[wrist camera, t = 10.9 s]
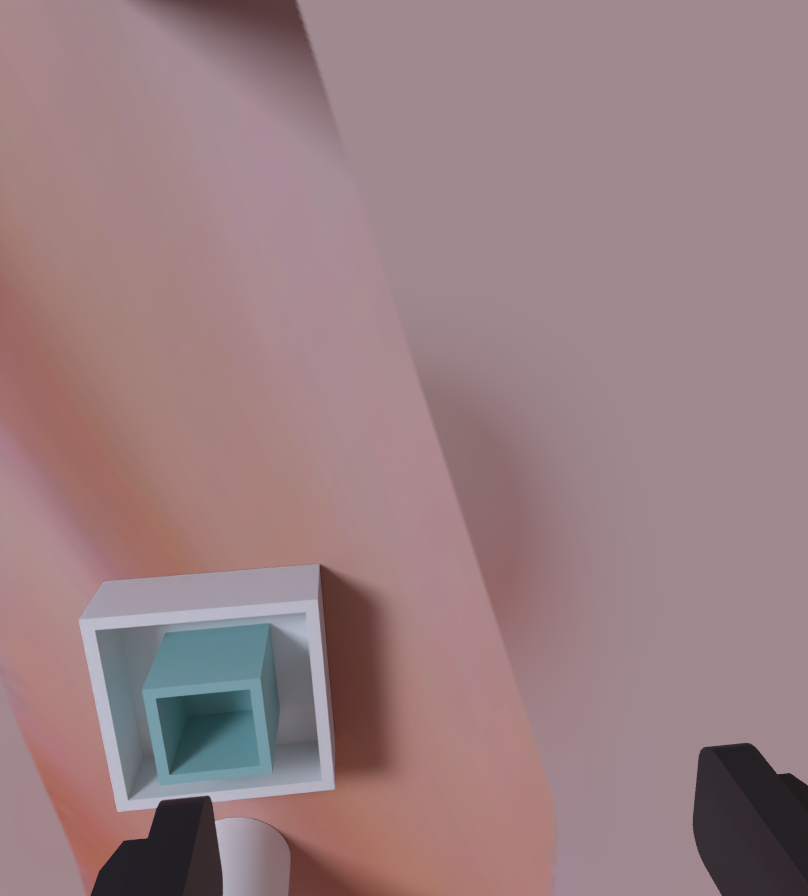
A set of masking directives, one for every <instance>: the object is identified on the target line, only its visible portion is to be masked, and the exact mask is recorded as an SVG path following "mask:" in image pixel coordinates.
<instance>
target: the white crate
mask: <svg viewBox="0 0 808 896" xmlns="http://www.w3.org/2000/svg"><path fill="white" fill-rule="evenodd" d="M79 623H80V628H81V633H82V638H83V643H84V648H85V653H86V658H87V663H88V668H89V673H90V678H91V683H92V688H93V693H94V698H95V703H96V708H97V713H98V718H99V723H100V728H101V733H102V738H103V743H104V748H105V753H106V758H107V763H108V768H109V773H110V778H111V783H112V788H113V793H114V798H115V803H116V808H117V812H121V811H131V810H141V809H150V808H157V807H158V804H159V803H160V801H162V800H168V799H178V798H188V797H198V796H210V798H211V801H212V802H218V801H228V800H237V799H247V798H257V797H266V796H276V795H286V794H295V793H305V792H314V791H324V790H334V789H335V734H334V722H333V711H332V700H331V689H330V677H329V666H328V655H327V644H326V632H325V621H324V610H323V599H322V587H321V576H320V565H319V564H311V565H298V566H286V567H274V568H262V569H249V570H237V571H225V572H212V573H200V574H188V575H176V576H163V577H151V578H139V579H127V580H114V581H104V582H103V583H102V585H101V586H100V588H99V589H98V591H97V593H96V594H95V596H94V597H93V599H92V600H91V602H90V603H89V605H88V606H87V608H86V609H85V611H84V612H83V614H82V615H81V617H80V619H79ZM264 623H270V631H271V639H272V647H273V655H274V664H275V672H276V680H277V688H278V697H279V705H280V714H279V723H278V731H277V740H276V749H275V757H274V766H273V774H265V775H255V776H246V777H237V778H227V779H218V780H208V781H199V782H190V783H180V784H171V785H162V786H160V785H159V779H158V774H157V769H156V763H155V758H154V752H153V747H152V742H151V736H150V731H149V725H148V720H147V715H146V709H145V704H144V698H143V693H142V688H143V686H144V683H145V681H146V679H147V676H148V674H149V671H150V669H151V667H152V664H153V662H154V660H155V657H156V655H157V652H158V650H159V648H160V645H161V643H162V640H163V638H164V636H165V633H166V632H177V631H188V630H199V629H209V628H220V627H231V626H242V625H253V624H264Z"/></svg>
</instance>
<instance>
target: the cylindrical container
mask: <svg viewBox="0 0 808 896" xmlns="http://www.w3.org/2000/svg"><path fill="white" fill-rule="evenodd" d="M215 826H216V832H217V839H218V846H219V852H220V859H221V865H222V875H223V896H288V893H289V879H290V865H291V856H290V850H289V847H288V844H287V843H286V841H285V839H284V838H283V836H282V835H281V834H280V833H279V832H278V831H277V830H275V829H274V828H273V827H271V826H270V825H268V824H265V823H263V822H261V821H258V820H254V819H251V818H241V817H236V818H226V819H221V820H217V821H215Z"/></svg>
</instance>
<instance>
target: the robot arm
mask: <svg viewBox="0 0 808 896" xmlns="http://www.w3.org/2000/svg"><path fill="white" fill-rule="evenodd" d="M693 831H694V836H695V841H696V845H697V849H698V852H699V854H700V857H701V859H702V861H703V863H704V865H705V867H706V869H707V870H708V872H709V874H710V876H711V877H712V879H713V881H714V882H715V884H716V886H717V888H718V890H719V891H720V893H721V895H722V896H808V785H806V784H805V783H803V782H802V781H800V780H799V779H797V778H796V777H795V776H793V775H792V774H790V773H787V774H776V772H775V771H774V770H773V768H772V767H771V766H770V765H769V763H768V762H767V761H766V760H765V758H764V757H763V756H762V755H761V753H760V752H759V751H758V750H757V749H756V747H754V746H753V745H752V744H749V743H742V744H733V745H721V746H712V747H704V748H703V749H702V750H701V751H700V754H699V760H698V771H697V782H696V791H695V802H694V813H693ZM91 896H223V875H222V865H221V859H220V852H219V846H218V839H217V832H216V826H215V819H214V812H213V806H212V801H211V798H210V796H198V797H188V798H178V799H168V800H162V801H160V803H159V804H158V807H157V809H156V813H155V816H154V819H153V822H152V826H151V829H150V832H149V836H148V838H146V839H137V840H127V841H123V843H122V844H121V845H120V846H119V847H118V849H117V850H116V851H115V852H114V854H113V855H112V856H111V857H110V859H109V860H108V861H107V862H106V864H105V865H104V866H103V867H102V869H101V870H100V871H99V874H98V877H97V879H96V882H95V885H94V888H93V890H92V893H91Z"/></svg>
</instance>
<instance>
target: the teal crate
mask: <svg viewBox="0 0 808 896" xmlns="http://www.w3.org/2000/svg"><path fill="white" fill-rule="evenodd" d="M142 693H143V698H144V704H145V709H146V715H147V720H148V725H149V731H150V736H151V742H152V747H153V752H154V758H155V763H156V769H157V774H158V779H159V785H160V786H162V785H171V784H180V783H190V782H199V781H208V780H218V779H227V778H237V777H246V776H255V775H265V774H273V766H274V757H275V749H276V740H277V731H278V723H279V714H280V705H279V697H278V688H277V680H276V672H275V664H274V655H273V647H272V639H271V631H270V623H264V624H253V625H242V626H231V627H220V628H209V629H199V630H188V631H177V632H166V633H165V636H164V638H163V640H162V643H161V645H160V648H159V650H158V652H157V655H156V657H155V660H154V662H153V664H152V667H151V669H150V671H149V674H148V676H147V679H146V681H145V683H144V686H143V688H142Z"/></svg>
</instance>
